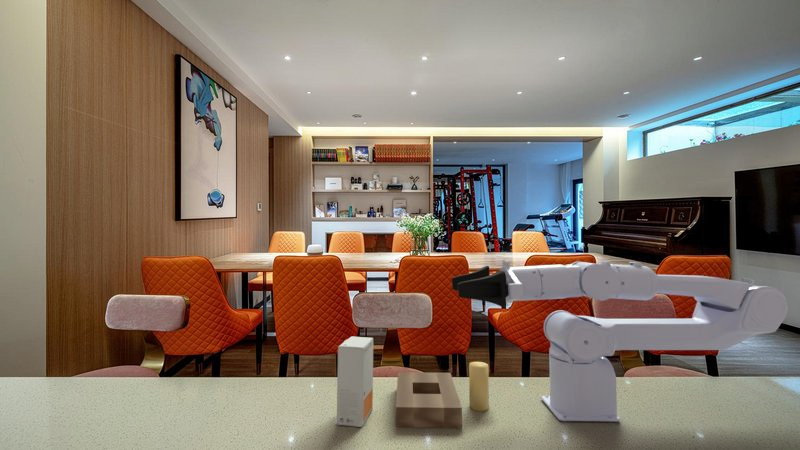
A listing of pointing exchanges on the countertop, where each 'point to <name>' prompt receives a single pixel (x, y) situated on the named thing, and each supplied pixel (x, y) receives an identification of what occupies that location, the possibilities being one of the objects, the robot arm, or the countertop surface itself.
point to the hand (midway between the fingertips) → (454, 286)
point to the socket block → (427, 401)
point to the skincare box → (355, 381)
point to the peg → (478, 386)
